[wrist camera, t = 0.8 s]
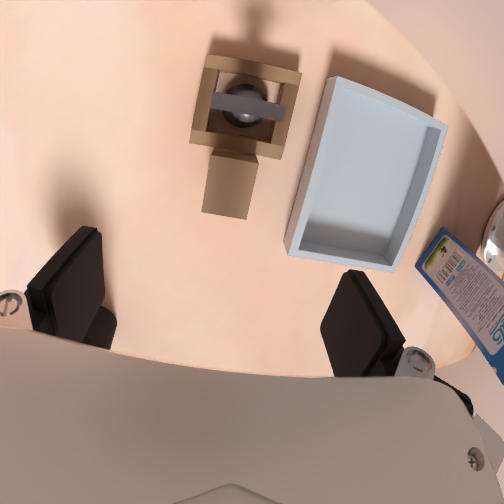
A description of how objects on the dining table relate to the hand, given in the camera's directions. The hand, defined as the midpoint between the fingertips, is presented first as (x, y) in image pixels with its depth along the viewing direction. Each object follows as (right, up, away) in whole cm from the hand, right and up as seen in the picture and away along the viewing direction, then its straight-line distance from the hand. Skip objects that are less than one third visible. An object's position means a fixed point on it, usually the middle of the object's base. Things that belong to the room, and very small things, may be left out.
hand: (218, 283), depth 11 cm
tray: (+12, +9, +17) cm, 23 cm away
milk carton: (+28, 0, +23) cm, 36 cm away
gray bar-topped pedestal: (0, +14, +13) cm, 19 cm away
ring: (0, +12, +14) cm, 19 cm away
